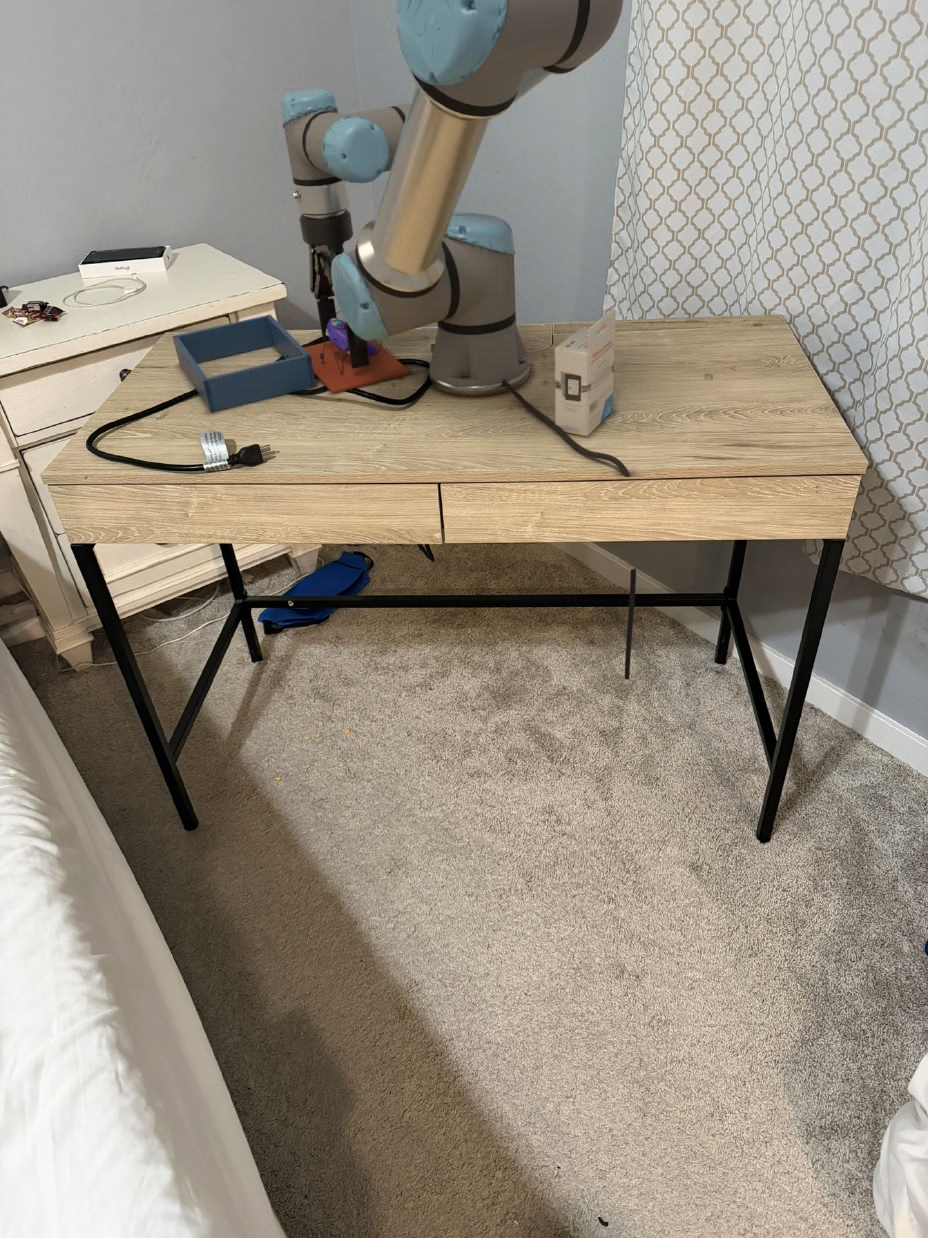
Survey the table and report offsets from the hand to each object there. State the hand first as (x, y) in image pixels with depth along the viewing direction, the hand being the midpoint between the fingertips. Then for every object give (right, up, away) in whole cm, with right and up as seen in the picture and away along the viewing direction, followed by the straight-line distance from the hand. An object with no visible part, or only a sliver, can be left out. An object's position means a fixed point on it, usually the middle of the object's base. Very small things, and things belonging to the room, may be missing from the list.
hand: (345, 352), depth 147 cm
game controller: (0, -1, +1) cm, 2 cm away
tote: (-16, -4, 0) cm, 16 cm away
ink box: (+36, -16, -21) cm, 44 cm away
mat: (+1, -1, +1) cm, 2 cm away
